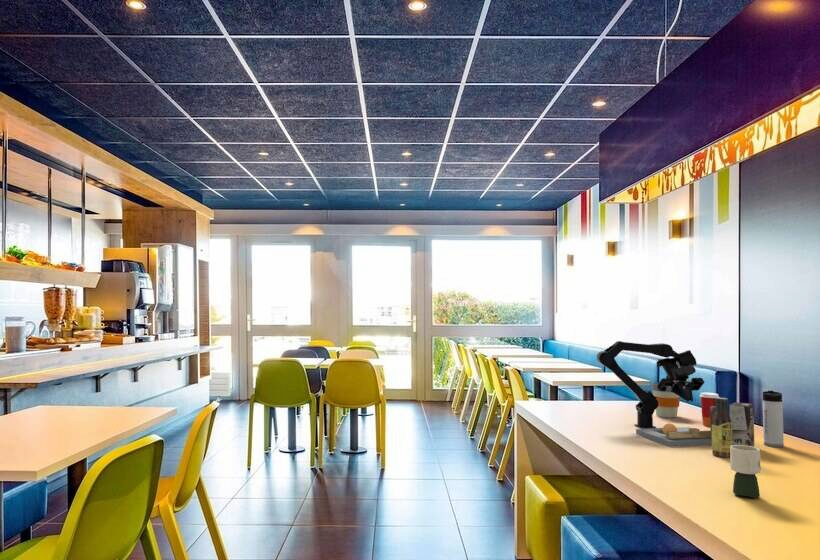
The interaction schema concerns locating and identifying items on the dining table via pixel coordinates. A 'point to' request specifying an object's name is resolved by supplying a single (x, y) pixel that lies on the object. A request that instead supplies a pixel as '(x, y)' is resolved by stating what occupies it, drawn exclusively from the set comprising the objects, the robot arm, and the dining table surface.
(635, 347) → the robot arm
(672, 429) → the ball
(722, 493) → the dining table surface
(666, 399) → the reusable coffee cup
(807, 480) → the dining table surface
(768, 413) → the travel mug
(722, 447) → the sauce bottle
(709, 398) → the paper cup
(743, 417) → the coffee box
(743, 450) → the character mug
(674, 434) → the lever
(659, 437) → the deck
